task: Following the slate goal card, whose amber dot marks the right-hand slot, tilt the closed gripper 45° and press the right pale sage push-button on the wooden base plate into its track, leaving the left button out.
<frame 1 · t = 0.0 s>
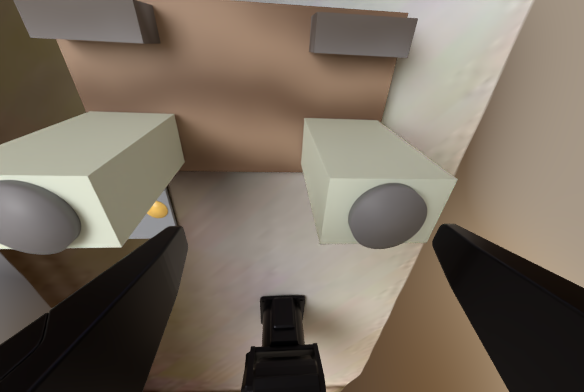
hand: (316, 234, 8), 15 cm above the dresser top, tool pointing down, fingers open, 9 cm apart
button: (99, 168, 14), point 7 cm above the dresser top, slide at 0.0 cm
goal card: (141, 207, 24), on the dresser top
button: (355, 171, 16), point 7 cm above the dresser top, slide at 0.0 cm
wooden base plate: (242, 97, 19), on the dresser top
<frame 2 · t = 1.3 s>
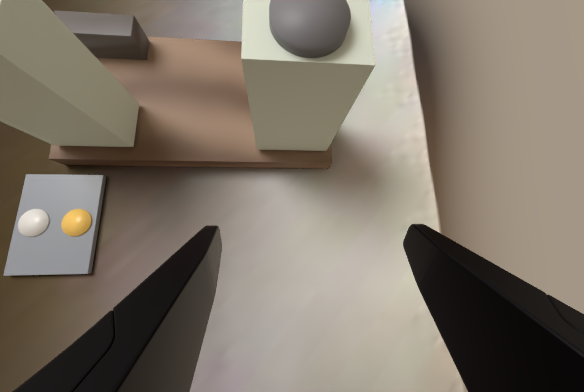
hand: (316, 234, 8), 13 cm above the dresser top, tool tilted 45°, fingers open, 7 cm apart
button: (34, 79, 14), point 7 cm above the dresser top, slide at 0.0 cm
goal card: (60, 223, 19), on the dresser top
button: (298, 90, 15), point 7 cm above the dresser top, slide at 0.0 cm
wooden base plate: (206, 106, 22), on the dresser top
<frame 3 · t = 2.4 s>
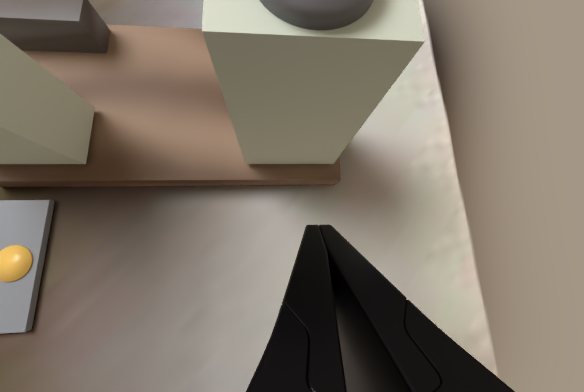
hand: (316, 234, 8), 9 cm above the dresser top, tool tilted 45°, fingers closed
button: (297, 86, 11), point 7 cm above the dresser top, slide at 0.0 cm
wooden base plate: (183, 110, 18), on the dresser top
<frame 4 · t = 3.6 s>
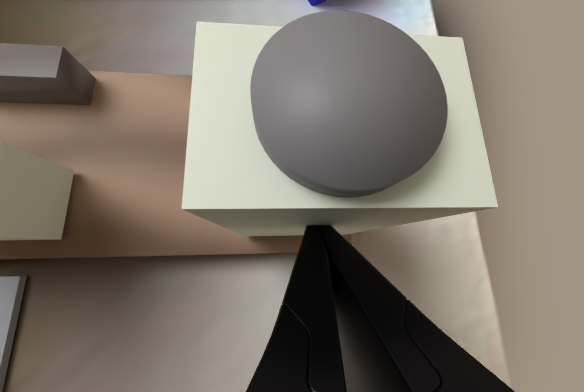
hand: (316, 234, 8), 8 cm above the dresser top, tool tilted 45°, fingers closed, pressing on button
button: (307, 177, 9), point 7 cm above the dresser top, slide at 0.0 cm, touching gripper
wooden base plate: (176, 165, 16), on the dresser top
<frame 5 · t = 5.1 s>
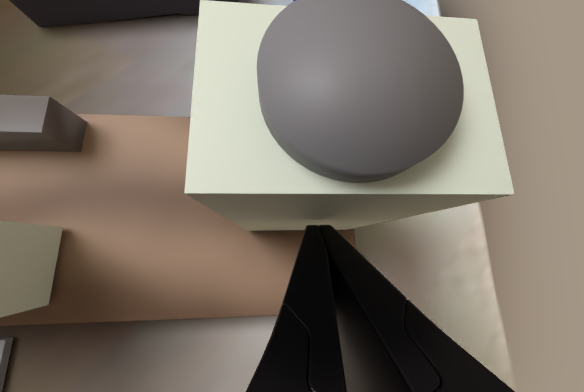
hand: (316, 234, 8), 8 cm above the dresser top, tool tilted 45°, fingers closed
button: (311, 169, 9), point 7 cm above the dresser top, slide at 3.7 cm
wooden base plate: (172, 212, 15), on the dresser top
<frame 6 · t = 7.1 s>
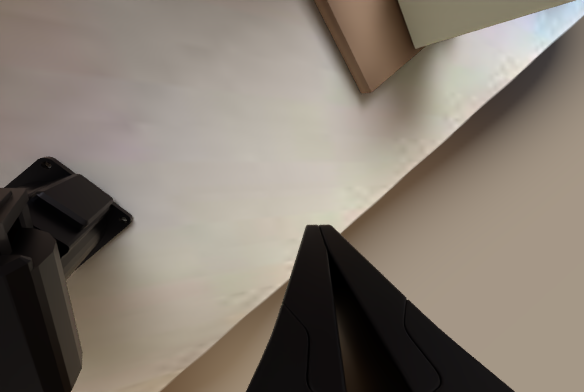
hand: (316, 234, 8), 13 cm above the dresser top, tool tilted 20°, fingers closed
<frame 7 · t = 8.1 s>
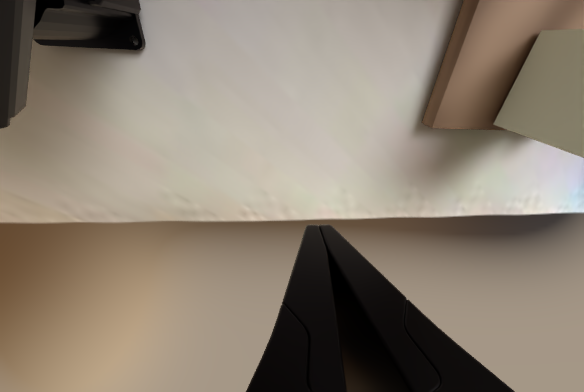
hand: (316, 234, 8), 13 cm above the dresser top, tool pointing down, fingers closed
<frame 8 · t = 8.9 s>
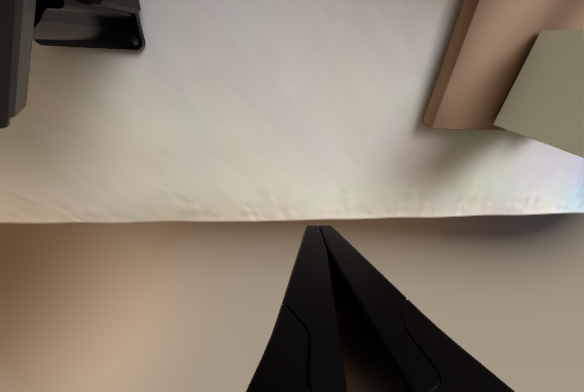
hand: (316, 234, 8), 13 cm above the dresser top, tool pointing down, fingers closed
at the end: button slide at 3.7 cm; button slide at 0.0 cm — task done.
